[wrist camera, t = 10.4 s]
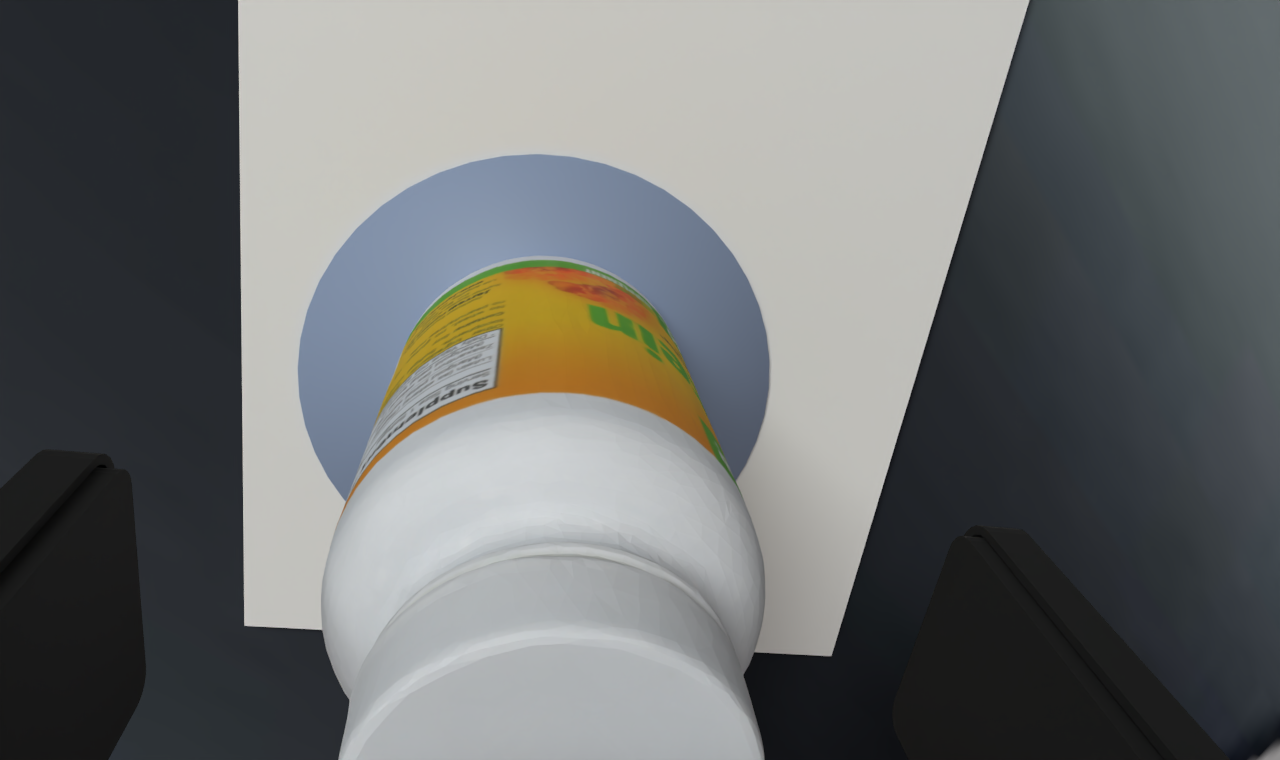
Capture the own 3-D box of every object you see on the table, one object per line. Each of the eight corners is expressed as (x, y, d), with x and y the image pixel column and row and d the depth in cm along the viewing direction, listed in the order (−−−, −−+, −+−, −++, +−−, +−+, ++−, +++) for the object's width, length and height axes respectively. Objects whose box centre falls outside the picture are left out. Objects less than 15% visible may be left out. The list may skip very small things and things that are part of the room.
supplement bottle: (734, 400, 17) (947, 810, 9) (527, 552, 18) (524, 1069, 9) (562, 187, 15) (606, 437, 7) (337, 370, 16) (104, 811, 7)
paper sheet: (240, -464, 12) (230, -479, 12) (1094, -249, 14) (1110, -256, 14) (248, 616, 19) (242, 628, 18) (827, 647, 21) (832, 658, 20)
